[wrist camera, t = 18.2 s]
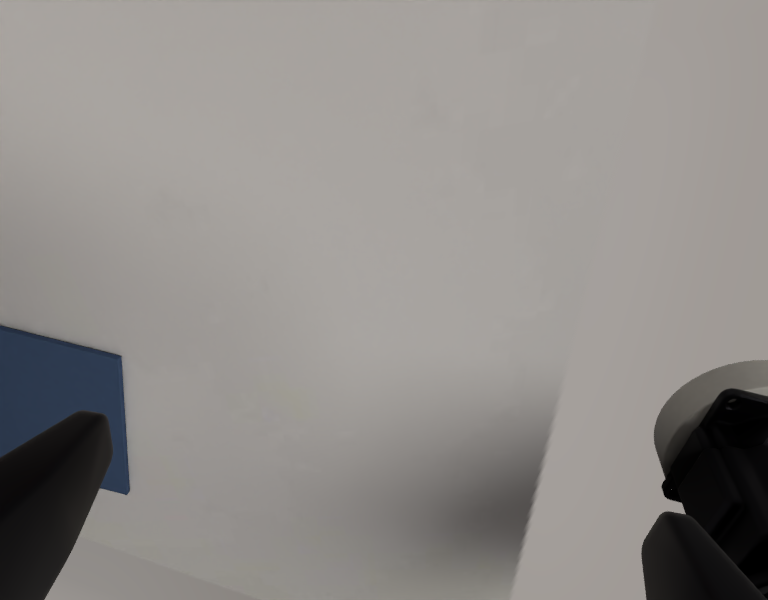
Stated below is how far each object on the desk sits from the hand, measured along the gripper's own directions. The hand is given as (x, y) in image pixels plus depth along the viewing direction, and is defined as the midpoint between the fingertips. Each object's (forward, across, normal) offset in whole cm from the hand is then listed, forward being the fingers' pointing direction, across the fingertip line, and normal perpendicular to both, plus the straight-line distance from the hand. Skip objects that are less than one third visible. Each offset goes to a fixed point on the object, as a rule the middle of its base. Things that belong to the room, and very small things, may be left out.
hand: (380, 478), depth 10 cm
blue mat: (+13, +16, +15) cm, 26 cm away
